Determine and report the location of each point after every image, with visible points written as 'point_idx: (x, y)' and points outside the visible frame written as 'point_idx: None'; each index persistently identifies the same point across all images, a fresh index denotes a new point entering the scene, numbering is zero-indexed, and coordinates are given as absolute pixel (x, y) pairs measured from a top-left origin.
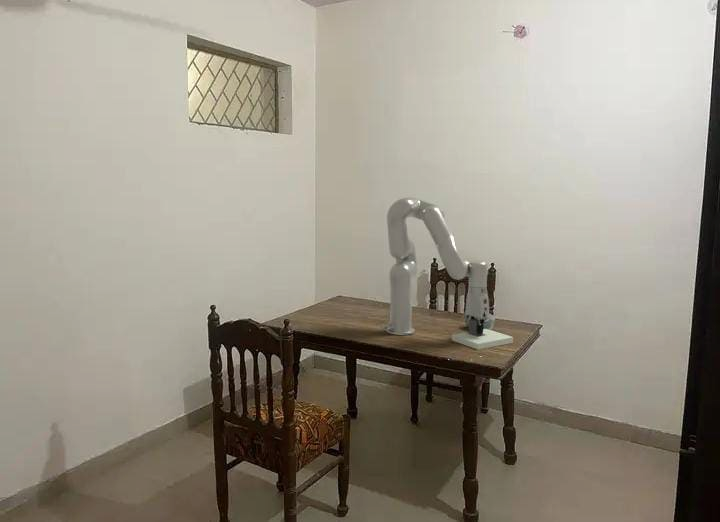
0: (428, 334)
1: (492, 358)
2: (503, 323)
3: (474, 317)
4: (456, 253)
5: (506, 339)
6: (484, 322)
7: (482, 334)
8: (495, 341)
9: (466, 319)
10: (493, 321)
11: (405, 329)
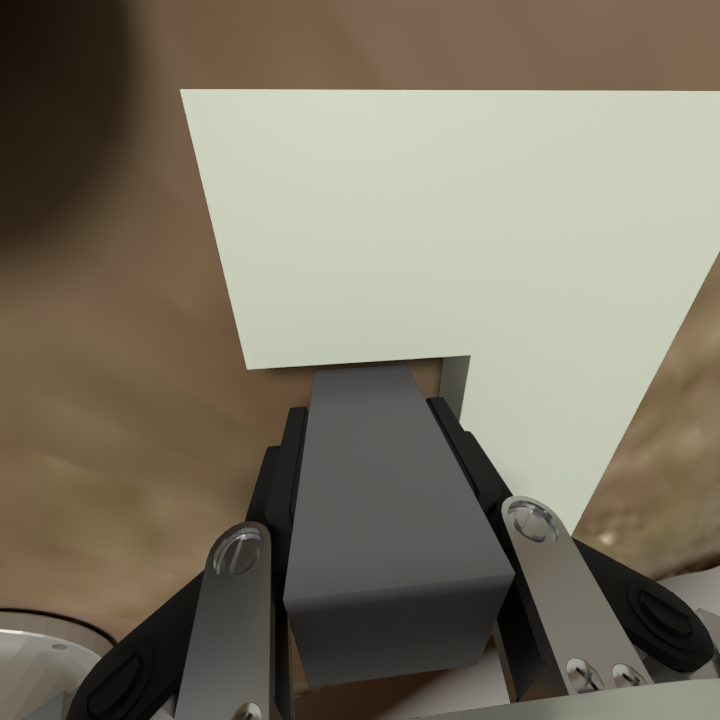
0: (115, 573)
1: (670, 517)
2: None
3: (273, 649)
4: None
5: (703, 250)
6: (604, 572)
7: (395, 355)
8: (629, 404)
9: None
10: None
11: (70, 687)
